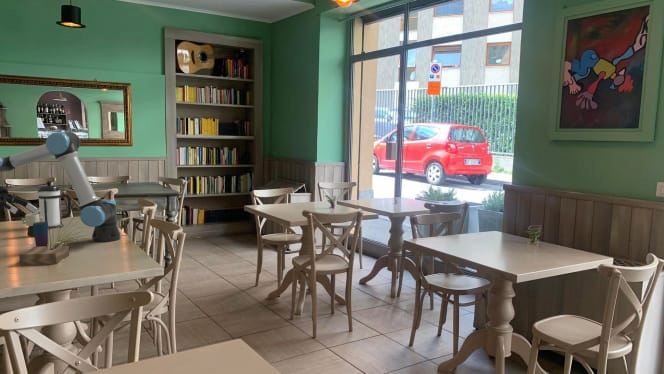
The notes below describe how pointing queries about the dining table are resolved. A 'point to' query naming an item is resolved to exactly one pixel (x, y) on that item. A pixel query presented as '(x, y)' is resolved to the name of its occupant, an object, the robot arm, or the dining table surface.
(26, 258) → the walnut riser
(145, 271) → the dining table surface
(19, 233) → the dining table surface
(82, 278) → the dining table surface
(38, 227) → the cup
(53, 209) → the coffee press
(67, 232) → the dining table surface
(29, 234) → the character mug
